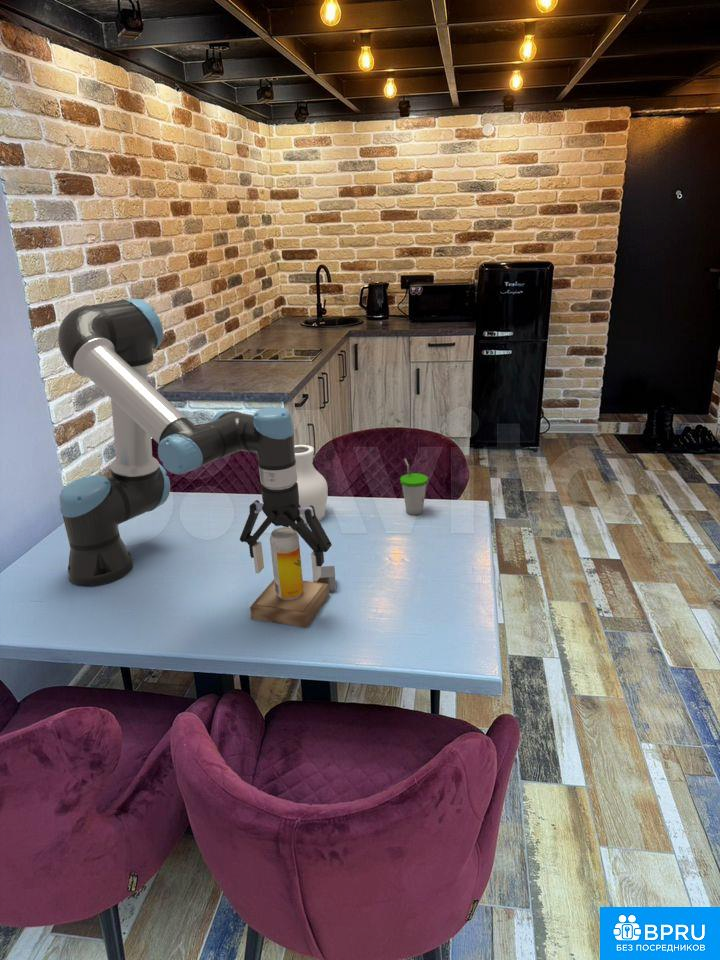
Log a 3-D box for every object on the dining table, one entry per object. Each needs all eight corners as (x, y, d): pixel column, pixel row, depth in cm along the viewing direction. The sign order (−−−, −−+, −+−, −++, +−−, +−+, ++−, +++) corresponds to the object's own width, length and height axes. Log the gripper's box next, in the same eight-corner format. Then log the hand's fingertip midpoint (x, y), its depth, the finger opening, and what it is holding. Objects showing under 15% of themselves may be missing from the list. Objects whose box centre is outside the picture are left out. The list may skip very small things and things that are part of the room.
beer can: (309, 594, 149) (303, 532, 144) (286, 604, 146) (279, 541, 140) (293, 584, 154) (287, 523, 148) (270, 593, 150) (263, 532, 145)
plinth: (251, 618, 147) (249, 605, 146) (277, 588, 159) (275, 575, 157) (307, 627, 143) (305, 614, 142) (329, 595, 155) (328, 583, 153)
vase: (283, 529, 187) (276, 461, 180) (276, 508, 200) (269, 444, 193) (334, 521, 190) (329, 454, 183) (324, 502, 203) (319, 438, 196)
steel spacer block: (314, 593, 156) (312, 578, 154) (314, 582, 161) (312, 567, 159) (336, 591, 156) (335, 576, 155) (335, 580, 161) (334, 565, 159)
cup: (430, 517, 190) (429, 466, 184) (401, 518, 190) (400, 468, 184) (427, 505, 197) (426, 456, 191) (399, 507, 197) (398, 458, 192)
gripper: (216, 485, 140) (228, 575, 148) (329, 496, 133) (336, 590, 141) (233, 472, 147) (244, 559, 155) (342, 481, 139) (348, 572, 147)
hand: (288, 574), depth 148 cm, fingers open, 13 cm apart
